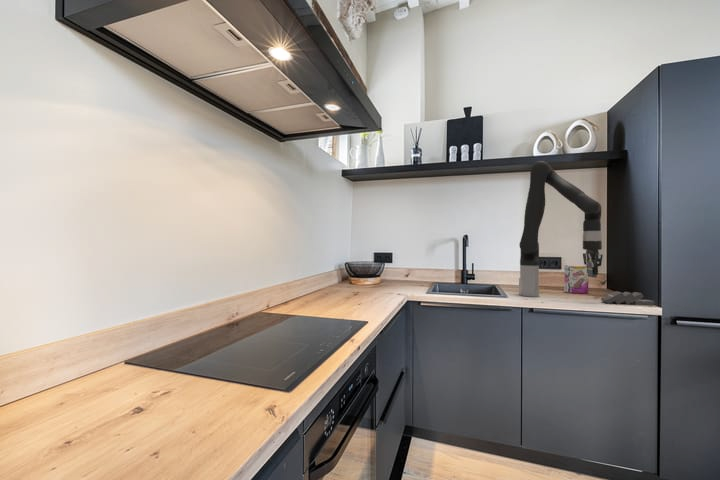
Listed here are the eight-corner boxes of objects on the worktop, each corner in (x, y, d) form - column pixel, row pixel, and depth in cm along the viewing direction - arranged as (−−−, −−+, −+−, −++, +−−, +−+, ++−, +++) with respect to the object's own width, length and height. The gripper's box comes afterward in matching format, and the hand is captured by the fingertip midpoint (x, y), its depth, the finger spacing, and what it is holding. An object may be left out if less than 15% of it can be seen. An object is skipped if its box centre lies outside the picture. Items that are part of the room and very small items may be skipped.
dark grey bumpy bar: (615, 300, 142) (631, 293, 141) (609, 298, 147) (625, 291, 145) (617, 304, 142) (634, 296, 141) (611, 302, 146) (627, 295, 145)
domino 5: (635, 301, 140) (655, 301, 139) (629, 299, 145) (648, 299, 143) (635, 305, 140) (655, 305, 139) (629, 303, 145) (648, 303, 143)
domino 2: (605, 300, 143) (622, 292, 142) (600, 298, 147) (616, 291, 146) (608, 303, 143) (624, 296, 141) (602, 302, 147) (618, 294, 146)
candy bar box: (568, 293, 172) (568, 265, 172) (563, 292, 177) (563, 265, 177) (589, 293, 171) (588, 265, 171) (583, 292, 176) (583, 265, 176)
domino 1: (592, 277, 145) (592, 261, 145) (587, 276, 149) (587, 260, 149) (596, 277, 144) (596, 261, 144) (592, 276, 148) (592, 260, 148)
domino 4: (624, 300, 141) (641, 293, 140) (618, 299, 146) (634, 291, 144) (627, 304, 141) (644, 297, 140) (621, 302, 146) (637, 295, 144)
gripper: (576, 240, 155) (576, 272, 154) (590, 240, 141) (591, 275, 140) (593, 240, 153) (593, 272, 153) (609, 240, 139) (609, 275, 139)
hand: (592, 274), depth 146 cm, fingers closed on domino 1, 4 cm apart
